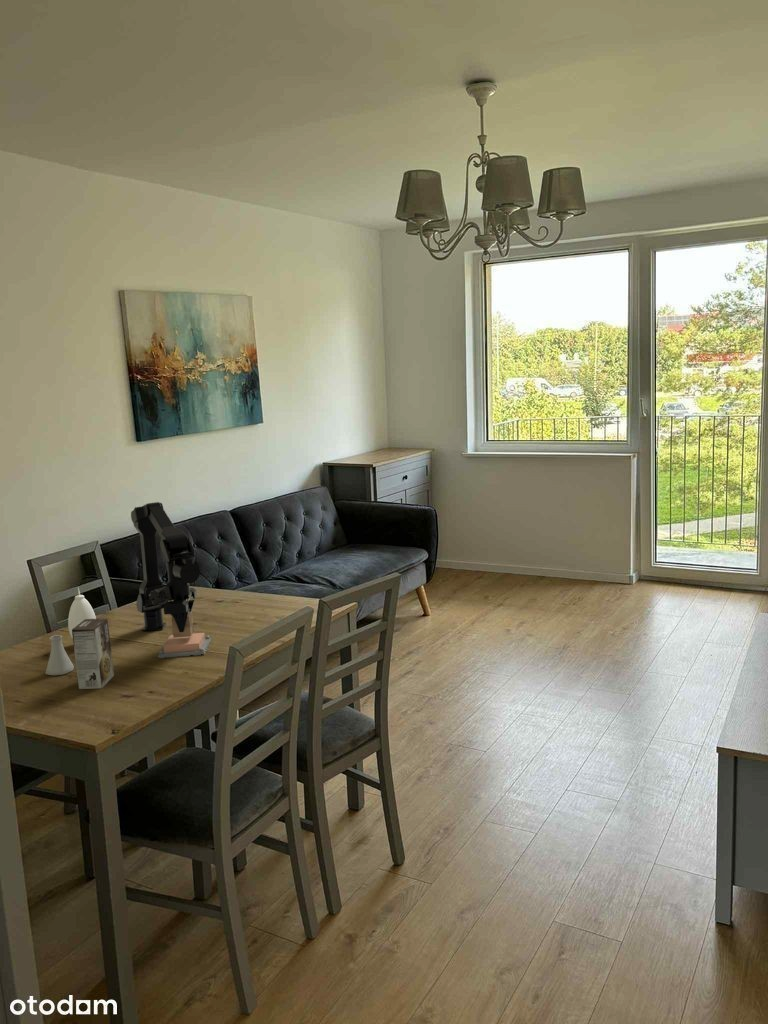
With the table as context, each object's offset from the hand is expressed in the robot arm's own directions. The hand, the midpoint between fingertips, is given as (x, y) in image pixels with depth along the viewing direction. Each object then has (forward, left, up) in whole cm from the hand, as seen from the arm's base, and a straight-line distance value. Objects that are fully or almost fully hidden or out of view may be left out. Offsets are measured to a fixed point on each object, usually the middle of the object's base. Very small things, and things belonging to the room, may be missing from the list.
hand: (183, 629), depth 237 cm
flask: (+12, -32, -6) cm, 35 cm away
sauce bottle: (-11, -32, -6) cm, 34 cm away
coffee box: (+23, -19, -6) cm, 30 cm away
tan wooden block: (0, 0, -2) cm, 2 cm away
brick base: (0, 0, -6) cm, 6 cm away
